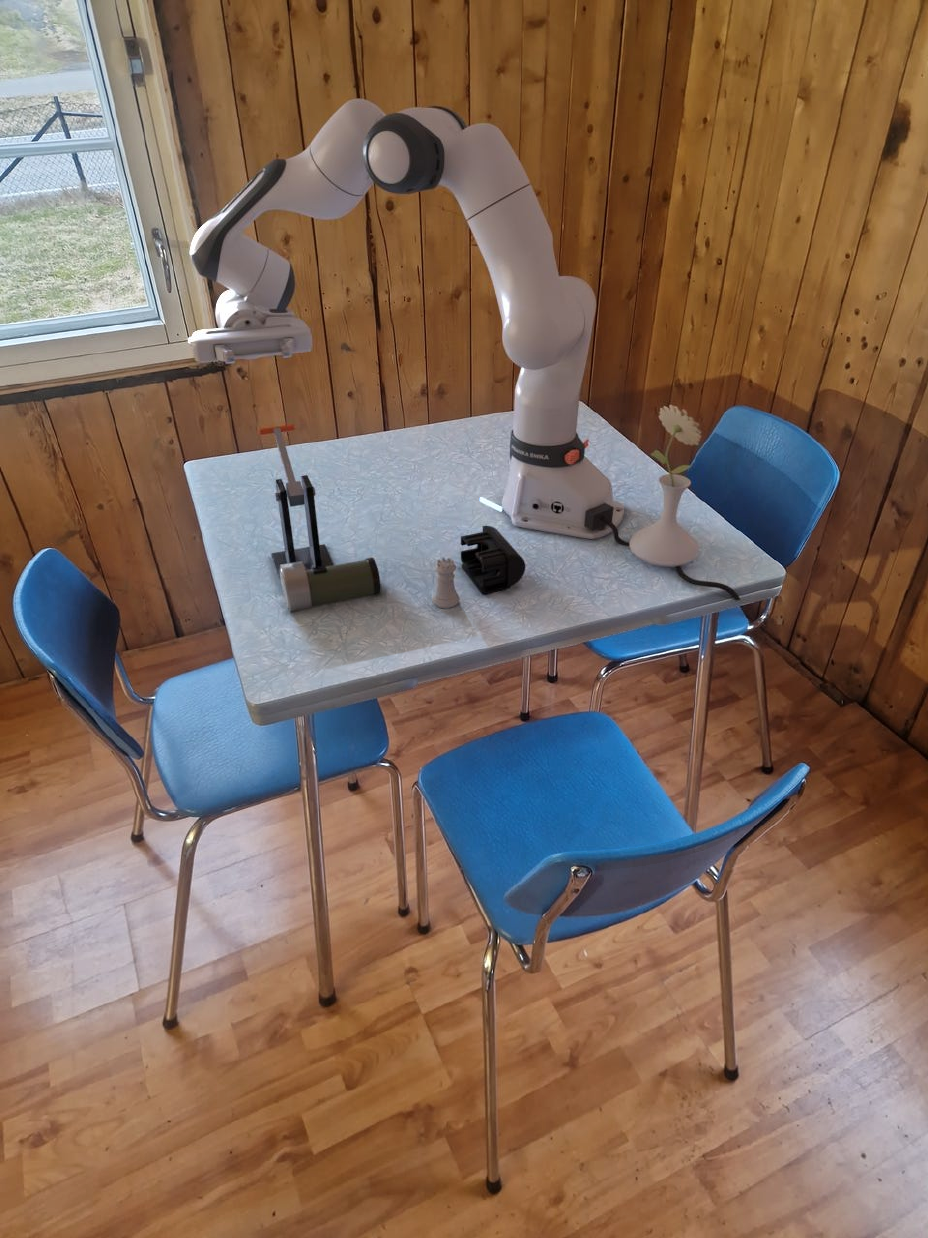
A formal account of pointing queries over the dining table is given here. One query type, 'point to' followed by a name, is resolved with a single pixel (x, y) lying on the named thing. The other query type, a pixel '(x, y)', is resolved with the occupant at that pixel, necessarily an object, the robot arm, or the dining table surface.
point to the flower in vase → (670, 502)
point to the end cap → (491, 561)
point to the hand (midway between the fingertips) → (258, 355)
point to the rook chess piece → (445, 584)
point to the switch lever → (286, 464)
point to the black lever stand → (314, 553)
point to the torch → (328, 583)
